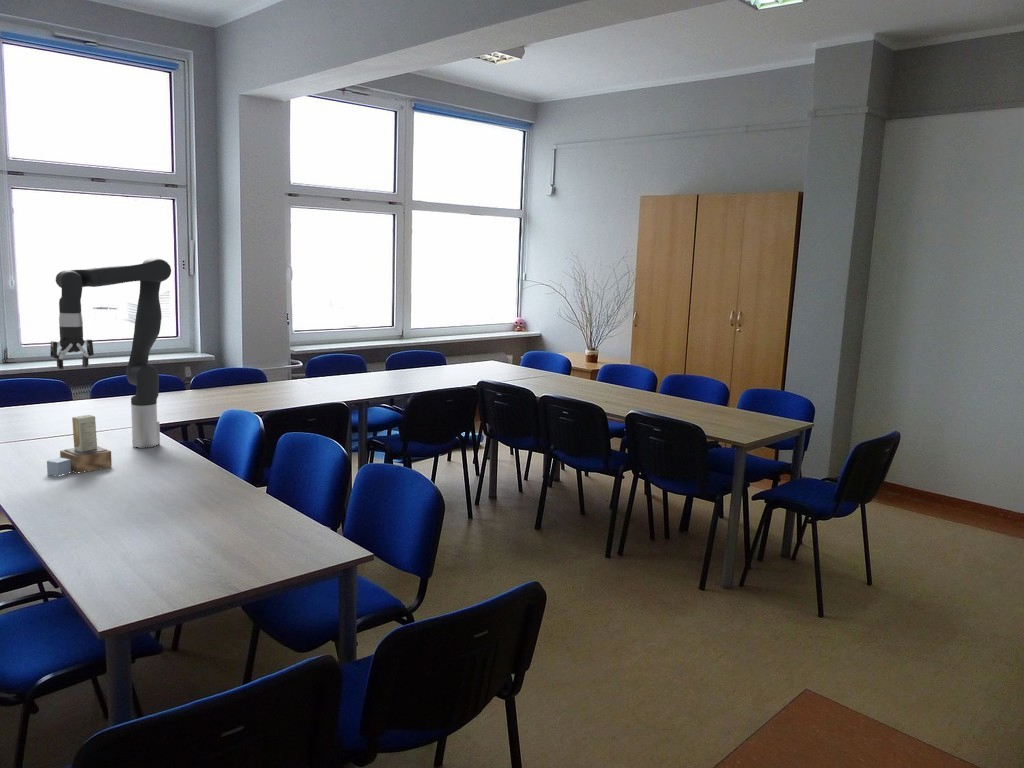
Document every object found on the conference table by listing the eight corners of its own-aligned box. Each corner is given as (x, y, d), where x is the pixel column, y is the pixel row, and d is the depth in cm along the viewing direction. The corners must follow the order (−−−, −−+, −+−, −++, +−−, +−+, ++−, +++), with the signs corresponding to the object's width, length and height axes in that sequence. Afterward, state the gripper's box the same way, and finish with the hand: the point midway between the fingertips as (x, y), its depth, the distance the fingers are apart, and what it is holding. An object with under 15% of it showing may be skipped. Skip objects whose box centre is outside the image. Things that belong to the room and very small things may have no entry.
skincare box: (91, 447, 274) (89, 414, 272) (97, 449, 272) (96, 416, 270) (73, 450, 269) (71, 416, 267) (79, 452, 266) (78, 418, 264)
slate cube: (60, 471, 265) (59, 457, 264) (71, 473, 264) (70, 459, 263) (47, 474, 261) (46, 460, 260) (58, 476, 259) (57, 462, 258)
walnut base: (95, 460, 280) (94, 444, 278) (111, 467, 273) (111, 449, 272) (60, 467, 270) (59, 449, 269) (77, 473, 263) (76, 455, 262)
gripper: (86, 323, 287) (87, 365, 290) (45, 324, 276) (47, 368, 279) (95, 325, 283) (97, 367, 286) (55, 326, 272) (57, 371, 274)
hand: (73, 368), depth 282 cm, fingers open, 8 cm apart
